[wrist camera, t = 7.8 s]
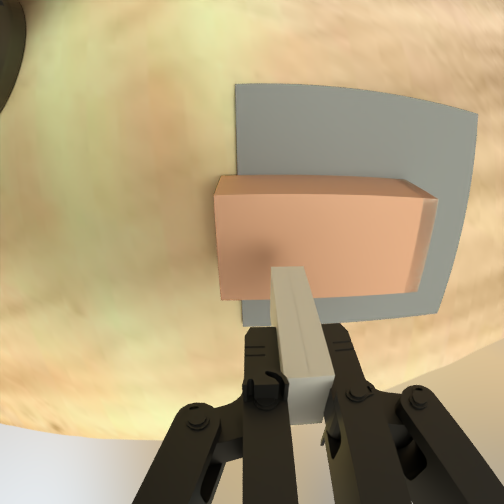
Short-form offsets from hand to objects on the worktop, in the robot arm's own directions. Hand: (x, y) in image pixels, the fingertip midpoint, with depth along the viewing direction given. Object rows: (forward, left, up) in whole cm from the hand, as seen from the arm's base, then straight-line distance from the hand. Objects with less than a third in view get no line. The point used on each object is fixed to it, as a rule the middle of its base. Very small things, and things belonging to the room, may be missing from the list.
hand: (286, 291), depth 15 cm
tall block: (0, -4, -7) cm, 8 cm away
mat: (0, +7, -10) cm, 12 cm away
